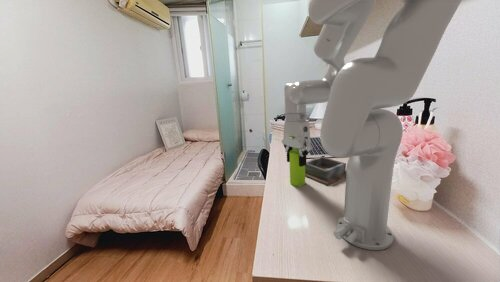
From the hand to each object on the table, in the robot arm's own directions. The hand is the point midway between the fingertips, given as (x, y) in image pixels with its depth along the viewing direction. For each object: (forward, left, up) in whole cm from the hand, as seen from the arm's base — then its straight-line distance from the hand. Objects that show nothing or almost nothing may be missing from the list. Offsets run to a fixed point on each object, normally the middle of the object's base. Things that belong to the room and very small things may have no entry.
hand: (296, 162), depth 80 cm
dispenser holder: (+15, -1, -9) cm, 17 cm away
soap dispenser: (0, 0, -9) cm, 9 cm away
